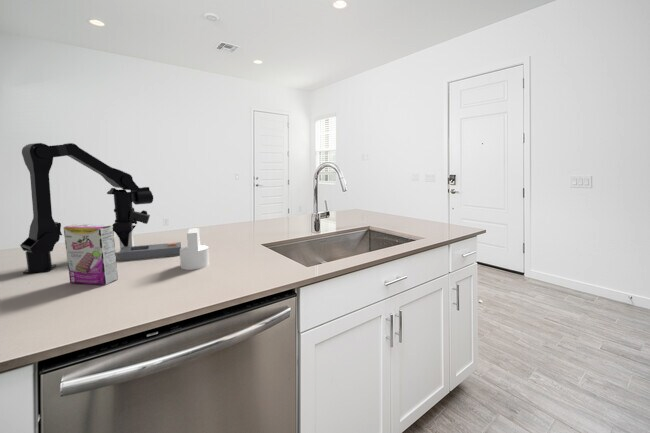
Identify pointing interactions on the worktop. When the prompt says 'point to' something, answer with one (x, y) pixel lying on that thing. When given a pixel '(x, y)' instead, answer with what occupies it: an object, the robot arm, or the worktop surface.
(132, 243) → the plug block
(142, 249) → the grey board with hole
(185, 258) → the cylinder with rectangular tab
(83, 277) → the candy bar box
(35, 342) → the worktop surface
